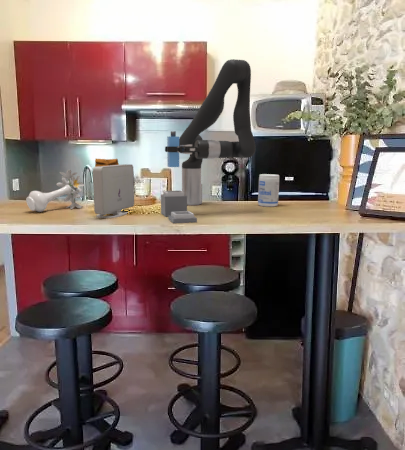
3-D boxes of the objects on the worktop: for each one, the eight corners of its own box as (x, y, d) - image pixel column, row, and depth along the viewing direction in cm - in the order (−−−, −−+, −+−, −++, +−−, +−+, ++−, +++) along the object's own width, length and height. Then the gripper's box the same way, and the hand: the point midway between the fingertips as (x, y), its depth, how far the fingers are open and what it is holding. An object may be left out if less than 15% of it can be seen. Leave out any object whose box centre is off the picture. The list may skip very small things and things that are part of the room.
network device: (108, 219, 165) (106, 167, 161) (88, 218, 167) (86, 166, 164) (139, 210, 188) (138, 164, 185) (121, 209, 191) (120, 164, 187)
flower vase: (42, 229, 181) (91, 207, 197) (33, 189, 172) (85, 170, 188) (26, 220, 189) (75, 200, 205) (16, 181, 180) (68, 163, 196)
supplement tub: (255, 206, 203) (256, 175, 200) (260, 203, 211) (261, 173, 209) (276, 207, 199) (277, 175, 197) (280, 204, 208) (281, 174, 205)
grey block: (161, 213, 181) (160, 190, 179) (181, 212, 183) (181, 190, 181) (165, 216, 172) (164, 193, 170) (187, 215, 175) (187, 192, 173)
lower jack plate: (168, 219, 166) (168, 211, 166) (190, 218, 169) (190, 210, 168) (173, 223, 158) (173, 215, 157) (196, 222, 160) (196, 214, 160)
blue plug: (167, 166, 175) (167, 131, 173) (177, 166, 177) (176, 131, 174) (169, 167, 172) (169, 131, 169) (179, 167, 173) (179, 131, 170)
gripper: (202, 140, 183) (162, 139, 178) (212, 140, 169) (169, 139, 165) (202, 157, 184) (163, 158, 179) (212, 159, 171) (170, 159, 166)
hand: (166, 149), depth 172 cm, fingers closed on blue plug, 4 cm apart
